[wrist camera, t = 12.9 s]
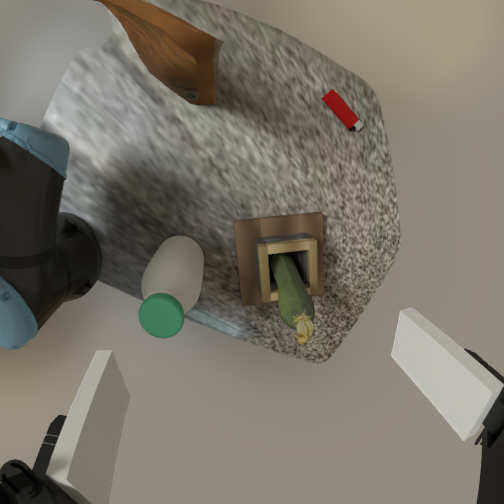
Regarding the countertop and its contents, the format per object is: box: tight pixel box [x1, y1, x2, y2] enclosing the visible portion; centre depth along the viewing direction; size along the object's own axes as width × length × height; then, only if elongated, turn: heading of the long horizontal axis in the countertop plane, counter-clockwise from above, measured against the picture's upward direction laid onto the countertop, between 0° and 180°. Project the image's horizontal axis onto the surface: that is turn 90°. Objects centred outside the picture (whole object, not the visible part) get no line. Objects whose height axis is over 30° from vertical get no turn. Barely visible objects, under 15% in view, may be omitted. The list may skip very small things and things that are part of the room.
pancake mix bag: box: [95, 0, 224, 105], centre depth 24 cm, size 7×19×28 cm, turn 45°
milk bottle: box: [139, 235, 204, 338], centre depth 36 cm, size 8×8×20 cm
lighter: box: [321, 89, 363, 131], centre depth 42 cm, size 3×1×8 cm
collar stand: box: [233, 212, 323, 306], centre depth 45 cm, size 14×14×6 cm
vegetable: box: [271, 253, 314, 345], centre depth 39 cm, size 4×4×20 cm
